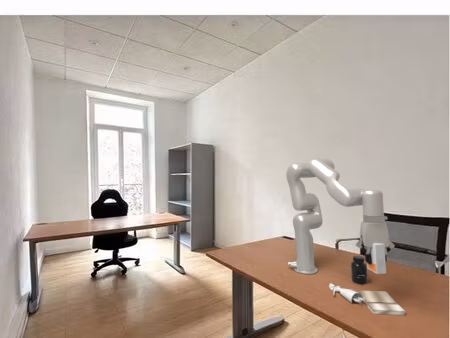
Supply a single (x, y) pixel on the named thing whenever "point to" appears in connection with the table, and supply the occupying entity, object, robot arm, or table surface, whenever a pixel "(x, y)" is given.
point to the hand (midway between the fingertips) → (375, 262)
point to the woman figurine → (348, 293)
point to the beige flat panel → (377, 297)
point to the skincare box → (377, 259)
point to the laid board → (386, 308)
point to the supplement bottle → (359, 270)
